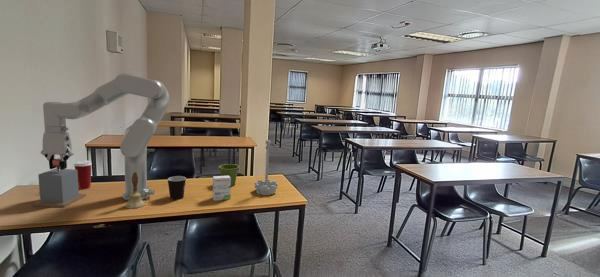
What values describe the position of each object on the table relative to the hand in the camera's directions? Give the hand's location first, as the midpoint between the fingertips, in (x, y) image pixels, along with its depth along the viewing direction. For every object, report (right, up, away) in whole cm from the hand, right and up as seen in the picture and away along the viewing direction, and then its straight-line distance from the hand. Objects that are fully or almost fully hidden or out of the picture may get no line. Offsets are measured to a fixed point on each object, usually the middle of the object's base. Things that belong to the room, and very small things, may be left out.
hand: (58, 168), depth 137 cm
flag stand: (+92, -17, +32) cm, 99 cm away
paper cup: (-3, -13, +21) cm, 25 cm away
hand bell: (+34, -18, +3) cm, 38 cm away
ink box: (+71, -18, +18) cm, 75 cm away
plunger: (-1, -14, +2) cm, 14 cm away
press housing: (-1, -16, +2) cm, 16 cm away
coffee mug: (+49, -17, +17) cm, 54 cm away
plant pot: (+69, -14, +41) cm, 81 cm away
